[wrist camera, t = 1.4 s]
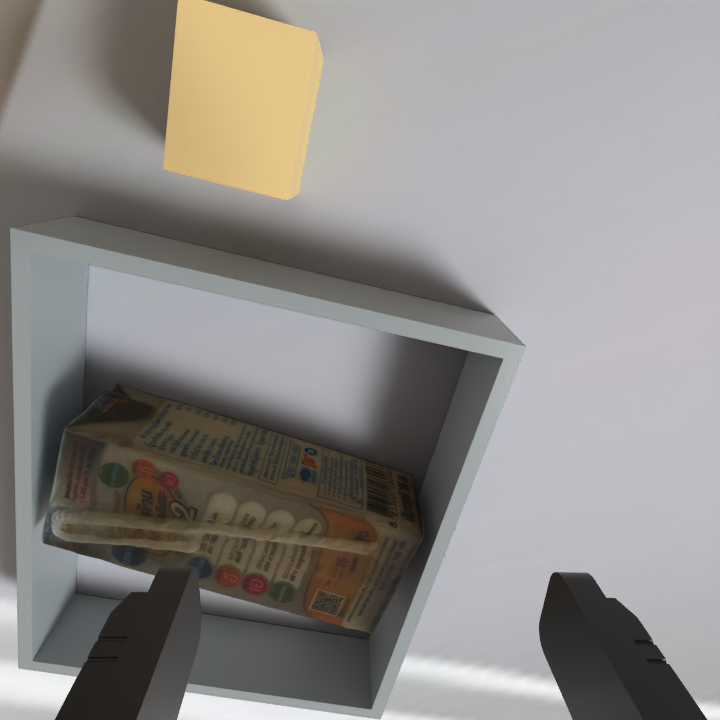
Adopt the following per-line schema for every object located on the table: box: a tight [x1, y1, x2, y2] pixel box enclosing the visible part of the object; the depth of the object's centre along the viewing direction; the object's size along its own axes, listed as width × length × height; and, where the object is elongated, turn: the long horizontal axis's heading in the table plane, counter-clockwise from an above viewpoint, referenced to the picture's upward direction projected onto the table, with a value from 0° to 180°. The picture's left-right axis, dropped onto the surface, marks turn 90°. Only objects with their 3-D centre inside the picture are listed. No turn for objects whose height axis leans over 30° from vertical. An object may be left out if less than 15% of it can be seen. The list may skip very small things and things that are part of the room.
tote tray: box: [10, 216, 526, 719], centre depth 28 cm, size 27×23×5 cm
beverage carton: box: [42, 384, 424, 634], centre depth 28 cm, size 8×19×7 cm, turn 69°
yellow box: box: [163, 0, 324, 200], centre depth 21 cm, size 6×5×5 cm
